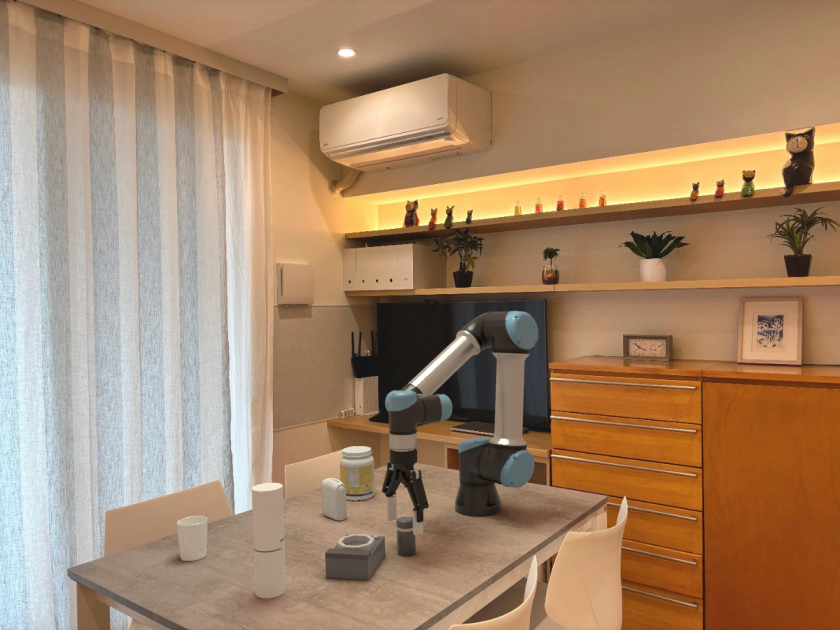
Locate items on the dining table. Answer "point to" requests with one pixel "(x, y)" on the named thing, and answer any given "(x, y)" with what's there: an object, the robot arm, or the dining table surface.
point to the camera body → (355, 557)
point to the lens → (405, 537)
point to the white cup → (192, 537)
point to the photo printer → (334, 499)
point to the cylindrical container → (269, 540)
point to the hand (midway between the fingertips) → (404, 526)
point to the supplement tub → (357, 473)
